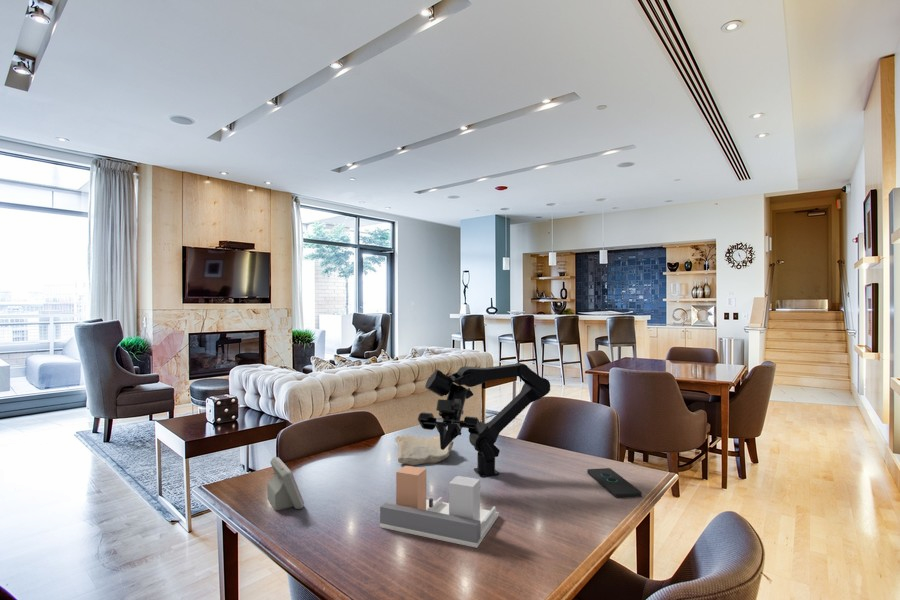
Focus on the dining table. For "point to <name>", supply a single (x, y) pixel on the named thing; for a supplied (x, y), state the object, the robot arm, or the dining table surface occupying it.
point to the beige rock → (421, 450)
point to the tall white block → (464, 497)
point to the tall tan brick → (411, 487)
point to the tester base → (437, 522)
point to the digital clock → (283, 487)
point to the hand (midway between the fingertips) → (442, 449)
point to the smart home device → (614, 483)
